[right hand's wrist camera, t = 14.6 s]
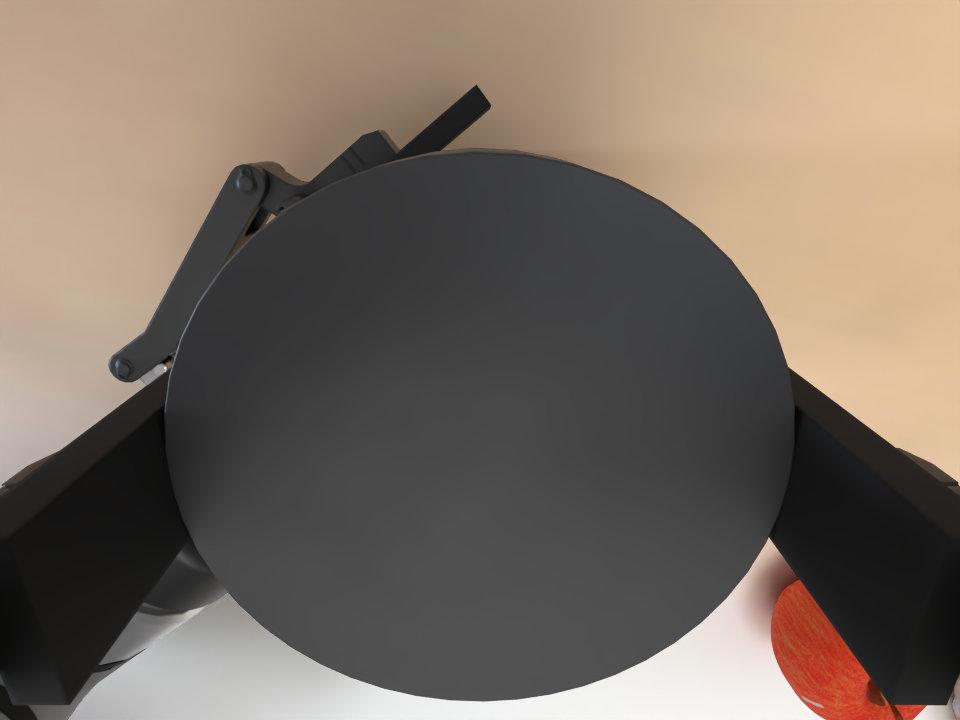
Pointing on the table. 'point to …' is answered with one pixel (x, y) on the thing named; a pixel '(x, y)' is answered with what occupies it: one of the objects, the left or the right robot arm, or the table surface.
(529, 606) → the lid
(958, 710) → the bread
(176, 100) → the table surface
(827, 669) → the apple
